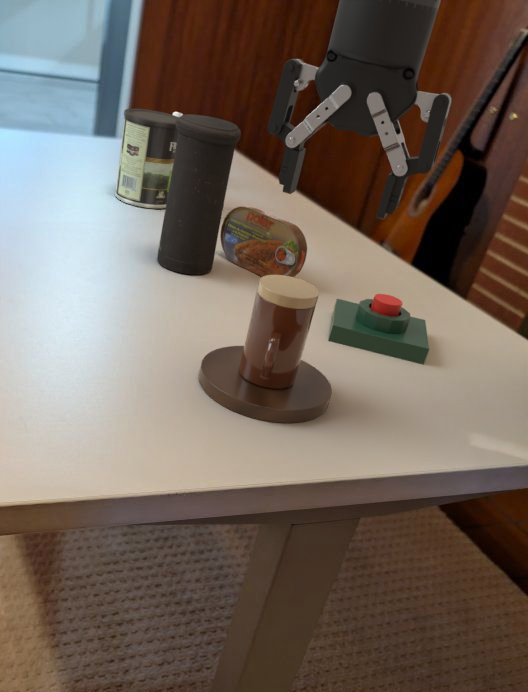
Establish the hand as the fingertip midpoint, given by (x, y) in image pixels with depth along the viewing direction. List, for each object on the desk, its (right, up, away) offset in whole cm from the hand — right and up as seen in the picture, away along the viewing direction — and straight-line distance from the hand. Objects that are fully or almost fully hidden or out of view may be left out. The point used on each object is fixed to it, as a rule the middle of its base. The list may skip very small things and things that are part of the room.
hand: (334, 204), depth 67 cm
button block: (+11, -8, +31) cm, 34 cm away
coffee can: (-21, +22, +67) cm, 74 cm away
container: (-14, +4, +42) cm, 45 cm away
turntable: (-5, -15, +13) cm, 21 cm away
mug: (-5, -14, +12) cm, 19 cm away
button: (+12, -5, +29) cm, 32 cm away
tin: (-3, +4, +45) cm, 46 cm away
